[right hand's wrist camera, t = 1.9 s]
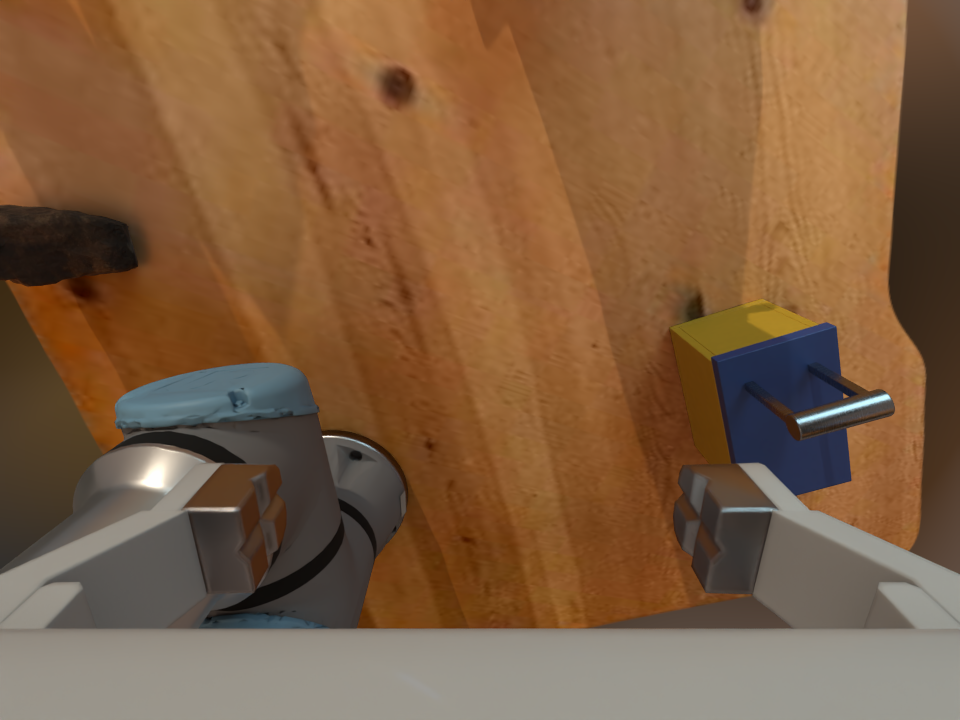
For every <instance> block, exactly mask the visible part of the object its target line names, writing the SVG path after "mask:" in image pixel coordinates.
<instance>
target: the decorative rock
mask: <svg viewBox="0 0 960 720" xmlns="http://www.w3.org/2000/svg"><path fill="white" fill-rule="evenodd" d="M136 267H138V262H137V258H136V254H135V250H134V246H133V243H132V239H131V236H130V233H129V230H128V226H127V224H125V223H121V222H119V221H116V220H113V219H109V218H106V217H102V216H94V215H87V214H84V213H82V212H78V211H70V210H55V209H51V208H47V207H22V206H15V205H0V280H10V281H12V282H13V283H18V284H23V285H25V286H43V285H49V284H55V283H57V282H59V281H61V280H63V279H71V278H78V277H81V276H84V275H87V276H93V275H98V274H107V273H118V272H123V271H128V270H130V269H133V268H136Z"/></svg>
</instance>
